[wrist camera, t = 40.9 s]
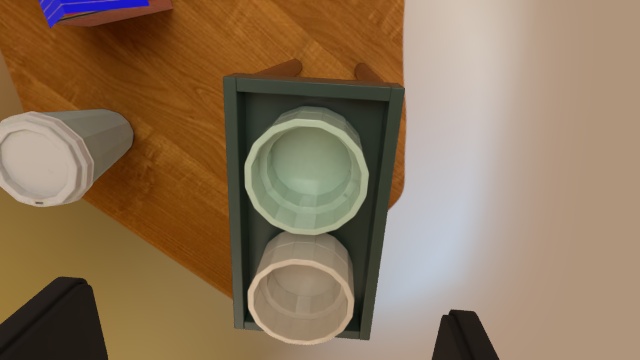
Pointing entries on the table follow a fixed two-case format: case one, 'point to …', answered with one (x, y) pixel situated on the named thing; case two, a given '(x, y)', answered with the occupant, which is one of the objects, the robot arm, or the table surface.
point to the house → (98, 10)
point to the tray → (380, 150)
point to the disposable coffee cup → (59, 153)
